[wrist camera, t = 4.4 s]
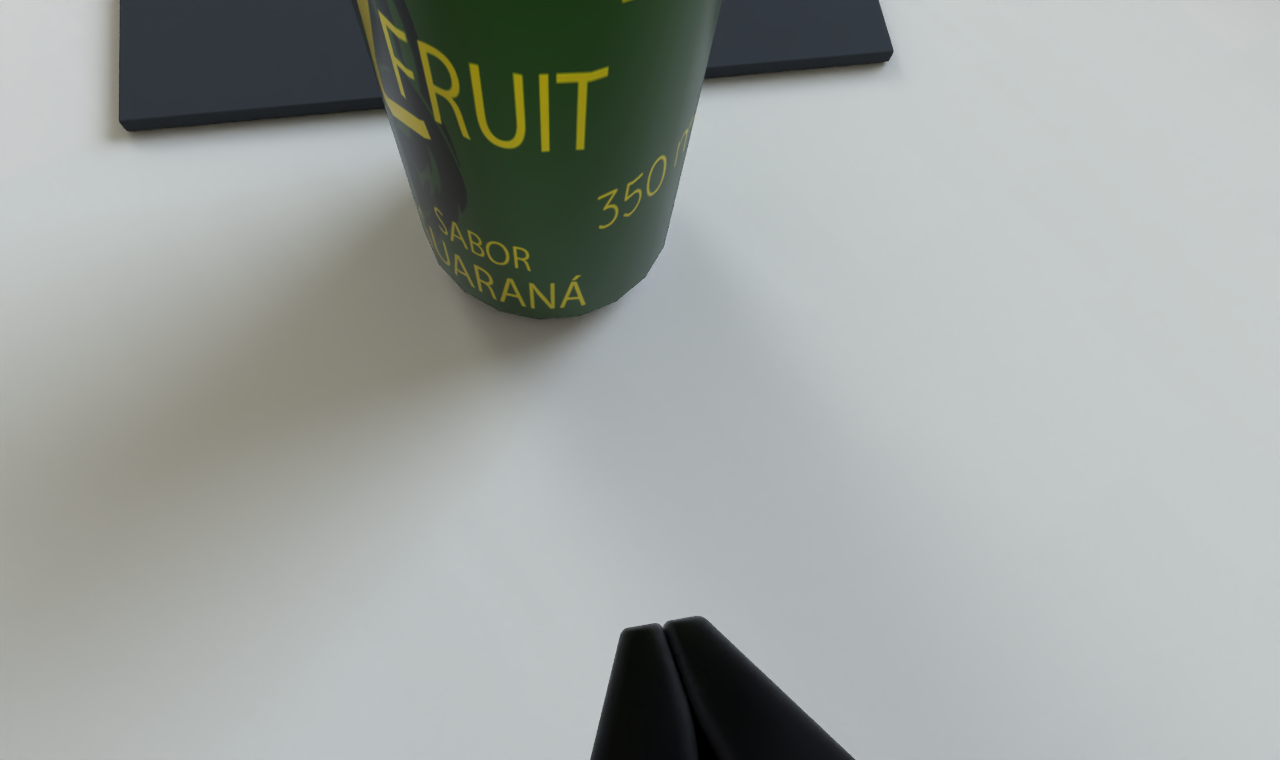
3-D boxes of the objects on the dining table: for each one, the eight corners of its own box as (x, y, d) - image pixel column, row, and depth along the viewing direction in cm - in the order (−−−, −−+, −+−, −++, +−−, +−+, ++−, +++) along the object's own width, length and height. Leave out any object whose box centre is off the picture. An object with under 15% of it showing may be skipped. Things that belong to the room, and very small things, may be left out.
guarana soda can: (484, 87, 21) (388, -609, 10) (698, 164, 21) (862, -450, 9) (386, 281, 19) (126, -284, 8) (618, 367, 19) (701, -83, 8)
